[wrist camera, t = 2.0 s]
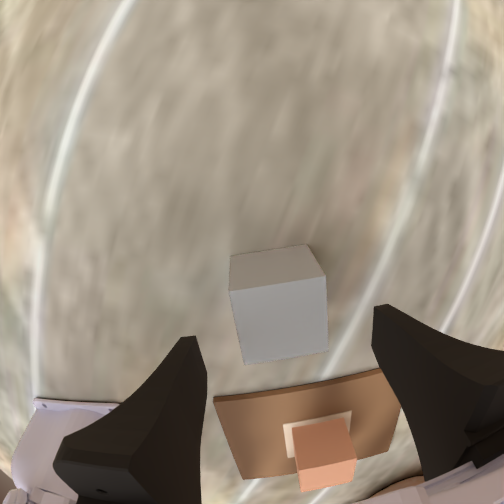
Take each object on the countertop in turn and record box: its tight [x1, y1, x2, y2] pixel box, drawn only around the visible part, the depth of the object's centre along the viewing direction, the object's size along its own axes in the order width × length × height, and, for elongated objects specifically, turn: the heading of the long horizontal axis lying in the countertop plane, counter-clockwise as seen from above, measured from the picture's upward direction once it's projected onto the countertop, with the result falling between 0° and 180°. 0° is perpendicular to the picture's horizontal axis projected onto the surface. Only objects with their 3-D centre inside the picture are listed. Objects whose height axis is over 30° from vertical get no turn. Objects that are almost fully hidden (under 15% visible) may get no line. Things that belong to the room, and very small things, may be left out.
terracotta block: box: [292, 417, 357, 492], centre depth 20 cm, size 4×4×4 cm
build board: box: [213, 368, 401, 480], centre depth 22 cm, size 14×12×1 cm
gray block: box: [229, 244, 328, 365], centre depth 15 cm, size 4×4×4 cm
